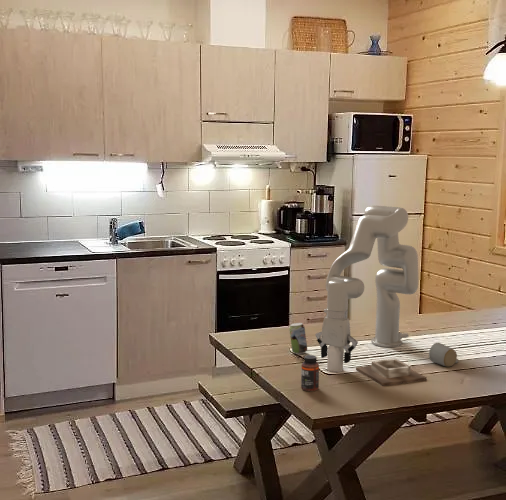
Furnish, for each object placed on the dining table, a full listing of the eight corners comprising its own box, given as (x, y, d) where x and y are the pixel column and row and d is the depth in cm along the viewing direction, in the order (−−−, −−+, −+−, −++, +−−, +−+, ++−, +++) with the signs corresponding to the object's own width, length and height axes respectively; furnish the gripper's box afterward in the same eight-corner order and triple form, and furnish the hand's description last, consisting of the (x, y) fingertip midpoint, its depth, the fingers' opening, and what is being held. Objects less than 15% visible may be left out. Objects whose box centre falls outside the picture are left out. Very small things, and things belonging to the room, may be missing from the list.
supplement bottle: (317, 385, 238) (318, 353, 236) (319, 392, 232) (320, 359, 230) (300, 385, 238) (300, 353, 236) (301, 392, 232) (302, 359, 230)
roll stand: (397, 364, 262) (397, 354, 262) (426, 379, 246) (426, 369, 245) (355, 370, 255) (356, 359, 255) (382, 385, 239) (383, 374, 238)
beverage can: (306, 356, 271) (307, 326, 269) (287, 354, 273) (288, 325, 271) (308, 351, 277) (309, 322, 276) (290, 350, 279) (290, 321, 277)
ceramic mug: (444, 369, 258) (446, 349, 257) (427, 363, 265) (429, 343, 264) (463, 365, 264) (465, 345, 263) (446, 359, 271) (448, 340, 269)
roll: (340, 335, 257) (346, 339, 252) (339, 366, 259) (345, 371, 254) (325, 336, 256) (331, 340, 250) (324, 367, 257) (330, 372, 252)
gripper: (311, 312, 255) (310, 357, 257) (352, 320, 244) (351, 367, 247) (322, 308, 260) (320, 352, 263) (363, 316, 250) (361, 361, 253)
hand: (335, 359), depth 255 cm, fingers open, 9 cm apart
